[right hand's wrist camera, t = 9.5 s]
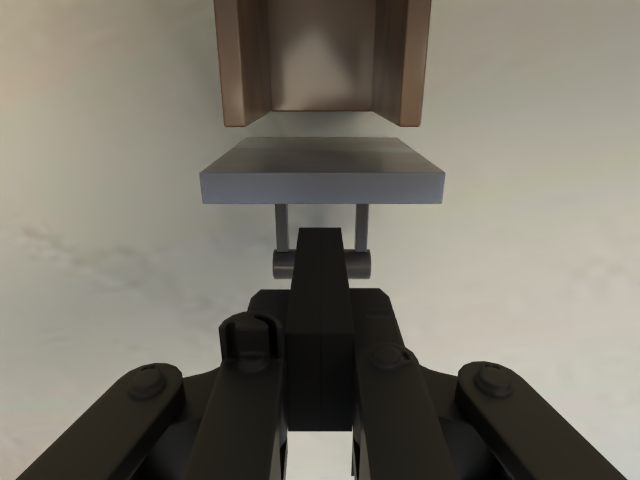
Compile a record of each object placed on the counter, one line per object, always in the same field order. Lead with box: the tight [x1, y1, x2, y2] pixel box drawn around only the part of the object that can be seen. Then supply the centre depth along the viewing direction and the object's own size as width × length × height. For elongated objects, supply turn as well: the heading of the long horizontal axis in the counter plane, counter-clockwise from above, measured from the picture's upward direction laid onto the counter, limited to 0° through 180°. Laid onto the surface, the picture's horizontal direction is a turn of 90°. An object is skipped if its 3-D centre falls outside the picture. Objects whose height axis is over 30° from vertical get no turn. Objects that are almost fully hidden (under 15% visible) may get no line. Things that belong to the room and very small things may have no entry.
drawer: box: [200, 0, 445, 279], centre depth 18 cm, size 23×9×10 cm, turn 0°
